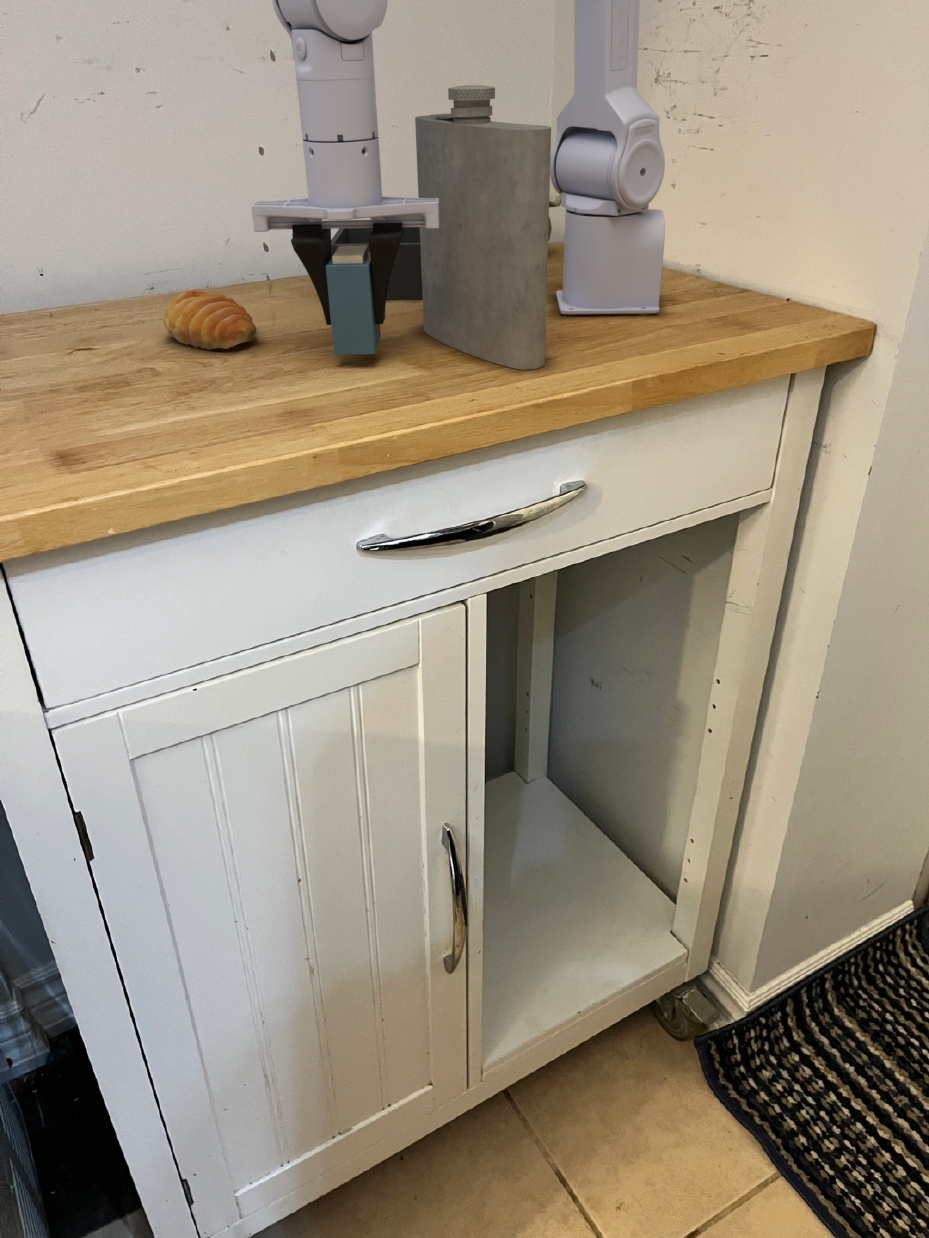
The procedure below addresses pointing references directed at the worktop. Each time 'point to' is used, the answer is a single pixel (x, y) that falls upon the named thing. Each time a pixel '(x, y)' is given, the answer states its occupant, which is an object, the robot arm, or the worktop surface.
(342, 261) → the juice carton
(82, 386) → the worktop surface
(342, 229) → the bin
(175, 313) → the pastry
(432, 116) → the hip flask
